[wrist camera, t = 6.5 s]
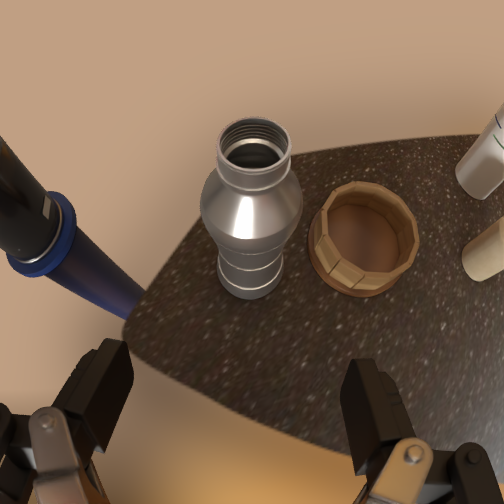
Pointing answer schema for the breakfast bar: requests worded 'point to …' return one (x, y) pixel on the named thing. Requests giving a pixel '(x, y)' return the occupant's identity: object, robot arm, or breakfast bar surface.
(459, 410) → the breakfast bar surface
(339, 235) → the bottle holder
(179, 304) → the breakfast bar surface
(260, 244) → the silver metal bottle
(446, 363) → the breakfast bar surface
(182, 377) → the breakfast bar surface
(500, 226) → the candle
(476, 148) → the cylindrical container
